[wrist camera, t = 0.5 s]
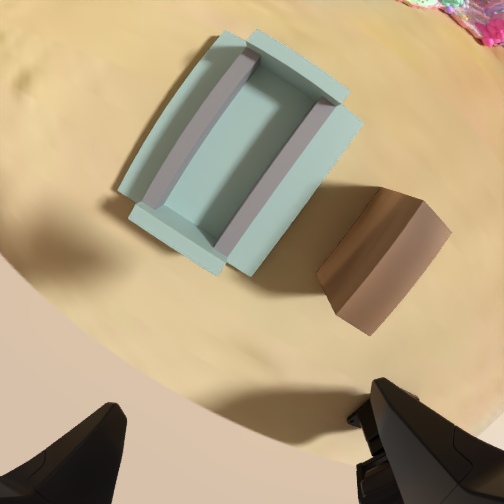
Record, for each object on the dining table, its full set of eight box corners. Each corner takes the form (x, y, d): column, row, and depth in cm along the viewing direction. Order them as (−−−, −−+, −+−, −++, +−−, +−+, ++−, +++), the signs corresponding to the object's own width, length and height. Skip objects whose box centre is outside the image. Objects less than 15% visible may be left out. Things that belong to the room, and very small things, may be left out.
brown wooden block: (406, 211, 20) (452, 232, 14) (343, 293, 22) (370, 336, 16) (380, 186, 19) (423, 200, 14) (315, 273, 21) (335, 314, 16)
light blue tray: (359, 124, 18) (383, 119, 14) (251, 271, 21) (251, 297, 17) (226, 35, 16) (220, 10, 12) (123, 188, 19) (96, 197, 15)
